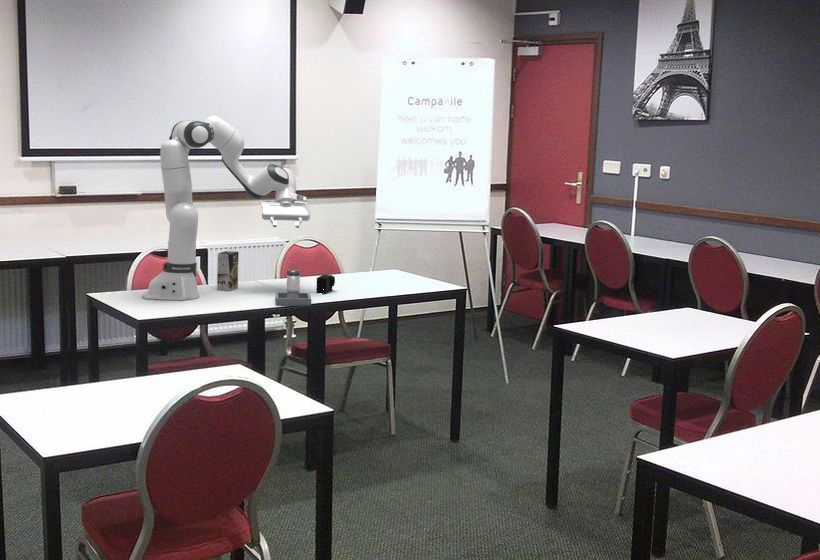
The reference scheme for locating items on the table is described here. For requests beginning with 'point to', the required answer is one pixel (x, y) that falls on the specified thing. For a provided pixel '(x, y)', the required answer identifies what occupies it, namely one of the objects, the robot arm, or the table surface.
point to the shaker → (293, 283)
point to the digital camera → (325, 283)
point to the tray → (292, 299)
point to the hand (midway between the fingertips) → (286, 226)
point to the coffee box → (227, 270)
